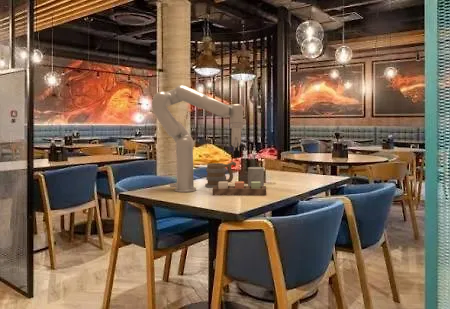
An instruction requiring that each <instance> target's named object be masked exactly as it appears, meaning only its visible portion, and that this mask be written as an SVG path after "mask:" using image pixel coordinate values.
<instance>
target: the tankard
mask: <svg viewBox="0 0 450 309" xmlns="http://www.w3.org/2000/svg"><path fill="white" fill-rule="evenodd" d="M236 165H237V163H236V162H235V161H231V162H229V163H227V164H225V163H220V162H219V163H217V162H215V163H213V162H212V163H207V165H206V166H207V168H206V169H205V170H206V171H205V172H206V173H207V174H206V176H205V179H206V181H207V182H206V183H205V184H204V186H205V187H206V188H207V189H213V187H214V186H218V182H219V181H228V184H229V183H232V181H233V179H234V173H233V170H232V166H236ZM226 172H228V174H229V176H228V178H227V176H226Z"/></svg>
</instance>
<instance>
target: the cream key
mask: <svg viewBox="0 0 450 309" xmlns="http://www.w3.org/2000/svg"><path fill="white" fill-rule="evenodd" d="M228 186H229V183H228V181H219V182H218V188H228Z"/></svg>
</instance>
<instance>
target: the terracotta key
mask: <svg viewBox="0 0 450 309" xmlns="http://www.w3.org/2000/svg"><path fill="white" fill-rule="evenodd" d="M234 186H235V189H244V186H245V181H244V180H243V181H241V180H240V181H239V180H238V181H236V180H235V181H234Z"/></svg>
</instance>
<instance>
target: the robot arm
mask: <svg viewBox="0 0 450 309" xmlns="http://www.w3.org/2000/svg"><path fill="white" fill-rule="evenodd" d="M151 100H152V101H151V110H152V113H153V114H154V116H155V117H156V119H157V120H158V122H159V124H160V125H161V126H162V128H163V129H164V131H165V133H166V134H167V136H169V137H171V138H172V140H173V141H174V142H175V154H176V182H175V183H169V187H170V188H174V192H178V193H190V192H195V191H196V190H197V187H195V186H194V149H193V148H194V146H195V141H194V138H192V136H191V134H190V133H189V132H188V130H187V129H186V127H185V126H184V125H183V124H182V123H181V122H180V121H178V120H177V119H176V118H175V116H173V114H172V112H171V111H170V109H169V108H168V107H170V106H172V105H176V104H179V103H180V102H184V103H187V104H189V105H192V106H194V107H195V108H196V107H197V108H198V109H202V110H204V111H207V112H209V113H212V114H214V115H215V116H216V115H217V116H218V117H221V118H226V117H229V129H231V146H233V158H235V159H237V158H238V159H239V158H240V157H241V156H240V146H241V143H242V142H241V140H242V129H244V106H243V104H241V103H234V104H226V103H224V102H222V101H220V100H217V99H215V98H212V97H211V96H209V95H207V94H205V93H203V92H201V91H199V90H196V89H193V88H191V87H190V86H187V85H185V84H179V85H176V87H175V88H173V89H171V90H167V91H166V90H165V91H164V90H162V91H161V90H160V91H157V93H155V94H154V96H153V98H152V99H151Z"/></svg>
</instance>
